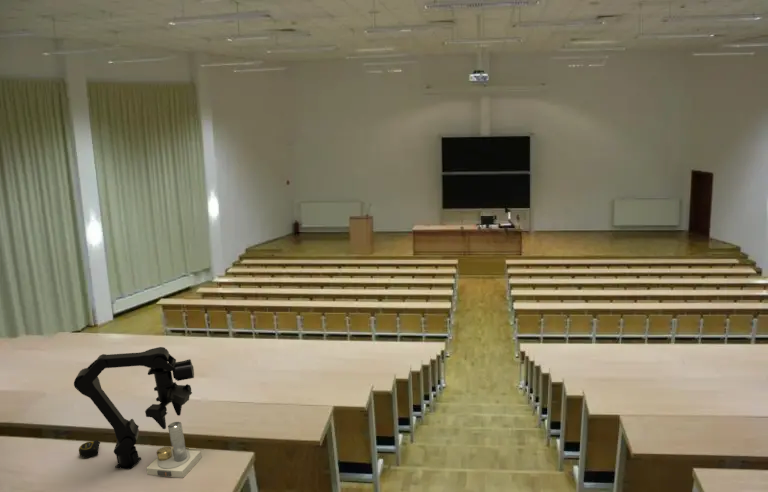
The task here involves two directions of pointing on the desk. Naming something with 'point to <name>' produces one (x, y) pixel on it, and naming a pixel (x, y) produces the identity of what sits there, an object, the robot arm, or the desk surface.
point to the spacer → (177, 441)
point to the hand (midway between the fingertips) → (171, 421)
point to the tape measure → (89, 448)
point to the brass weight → (164, 453)
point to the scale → (174, 465)
